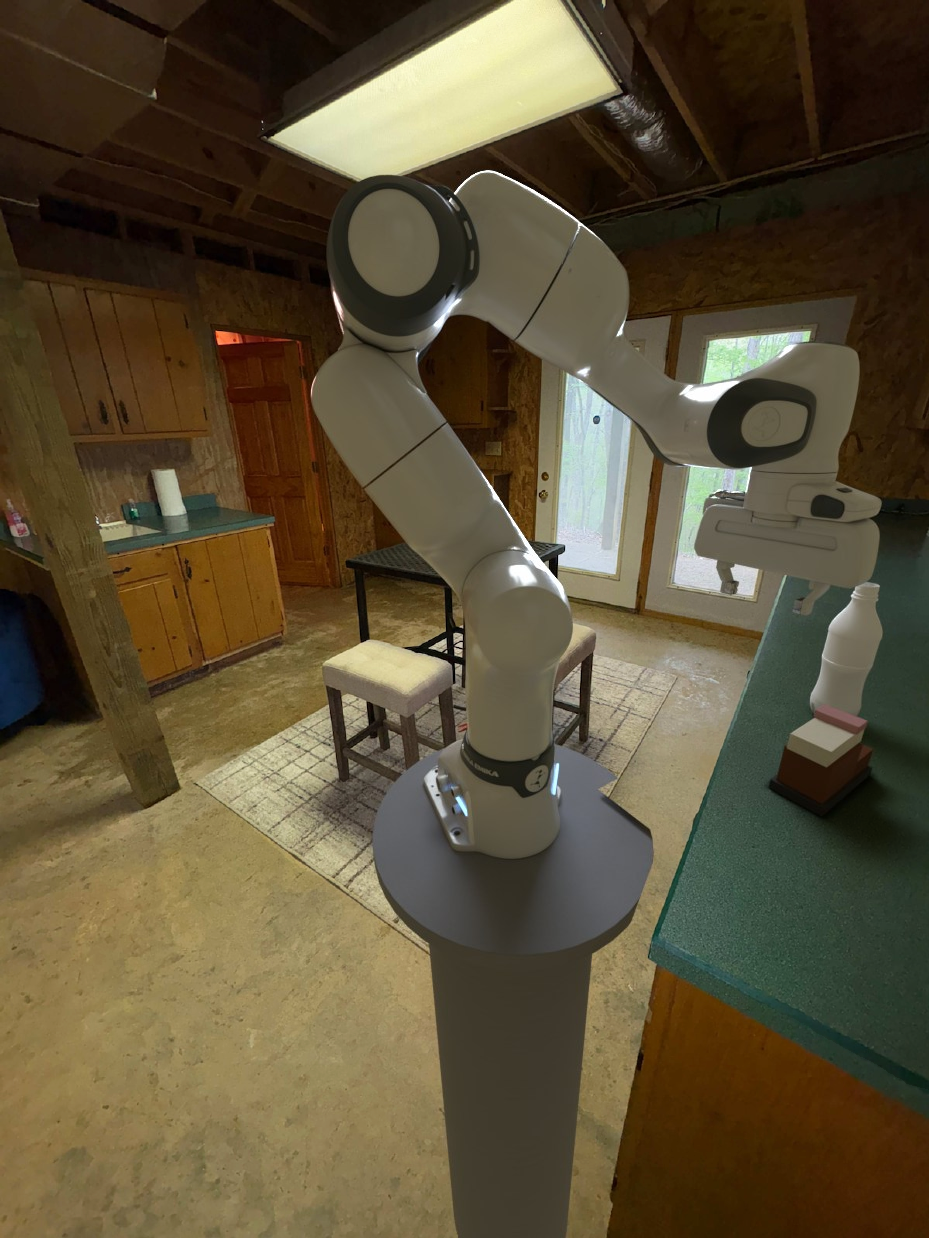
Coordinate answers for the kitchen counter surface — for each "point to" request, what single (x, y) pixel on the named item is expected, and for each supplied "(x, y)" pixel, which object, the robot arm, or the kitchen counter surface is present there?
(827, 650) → the water bottle
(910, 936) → the kitchen counter surface
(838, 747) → the cream rectangular block
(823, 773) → the brown block on base
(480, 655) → the robot arm
